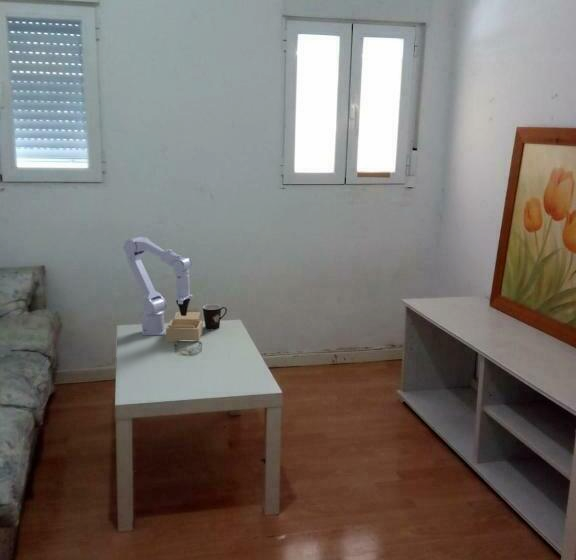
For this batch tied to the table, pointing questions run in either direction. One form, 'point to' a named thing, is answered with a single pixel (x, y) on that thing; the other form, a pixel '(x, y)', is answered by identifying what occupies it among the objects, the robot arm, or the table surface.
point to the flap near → (181, 326)
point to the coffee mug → (212, 316)
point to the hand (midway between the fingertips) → (183, 315)
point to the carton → (184, 330)
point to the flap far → (187, 316)
